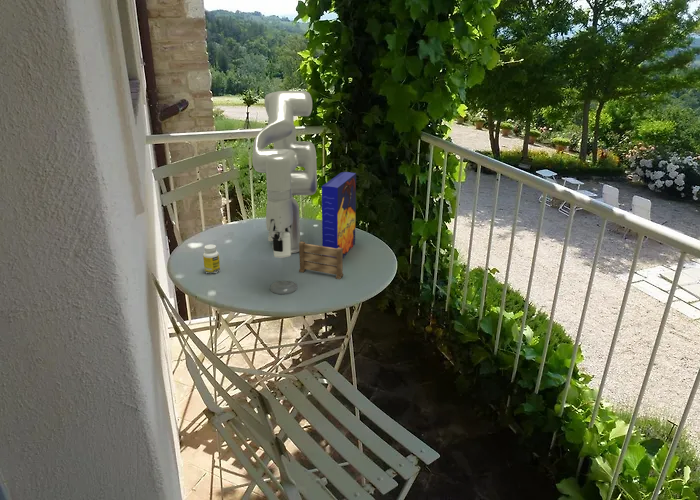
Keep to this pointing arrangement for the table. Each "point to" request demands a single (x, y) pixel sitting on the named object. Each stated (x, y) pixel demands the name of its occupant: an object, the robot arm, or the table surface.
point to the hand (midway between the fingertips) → (281, 247)
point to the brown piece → (321, 259)
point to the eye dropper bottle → (284, 245)
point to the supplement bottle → (211, 259)
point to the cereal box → (339, 212)
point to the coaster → (283, 287)
